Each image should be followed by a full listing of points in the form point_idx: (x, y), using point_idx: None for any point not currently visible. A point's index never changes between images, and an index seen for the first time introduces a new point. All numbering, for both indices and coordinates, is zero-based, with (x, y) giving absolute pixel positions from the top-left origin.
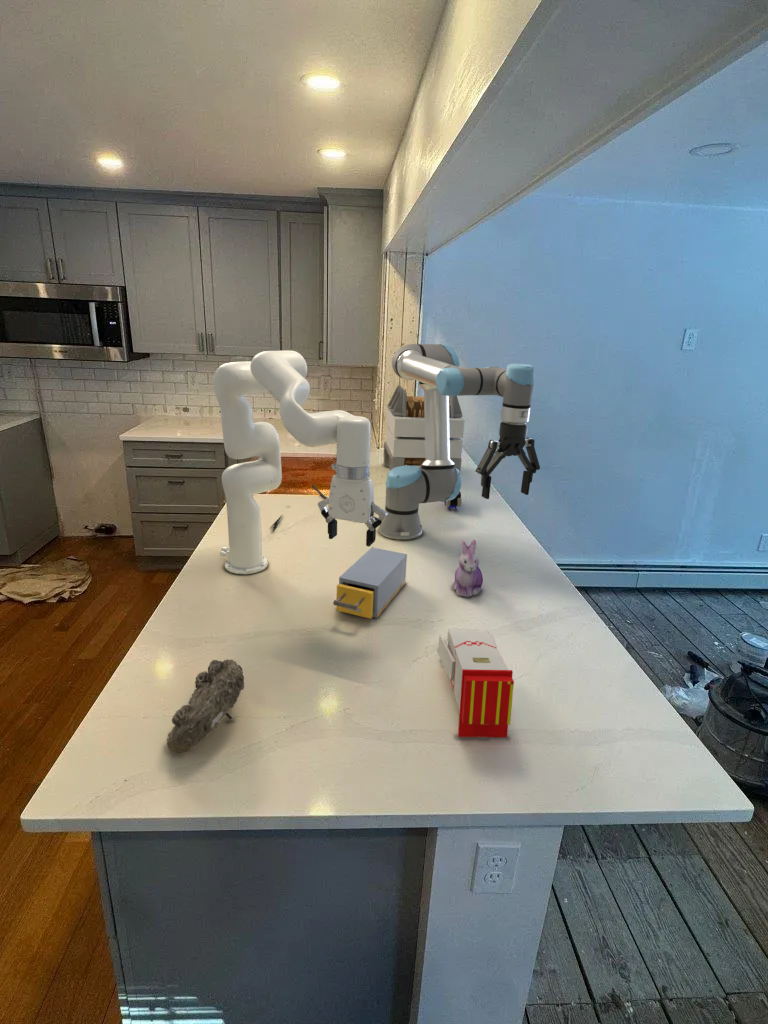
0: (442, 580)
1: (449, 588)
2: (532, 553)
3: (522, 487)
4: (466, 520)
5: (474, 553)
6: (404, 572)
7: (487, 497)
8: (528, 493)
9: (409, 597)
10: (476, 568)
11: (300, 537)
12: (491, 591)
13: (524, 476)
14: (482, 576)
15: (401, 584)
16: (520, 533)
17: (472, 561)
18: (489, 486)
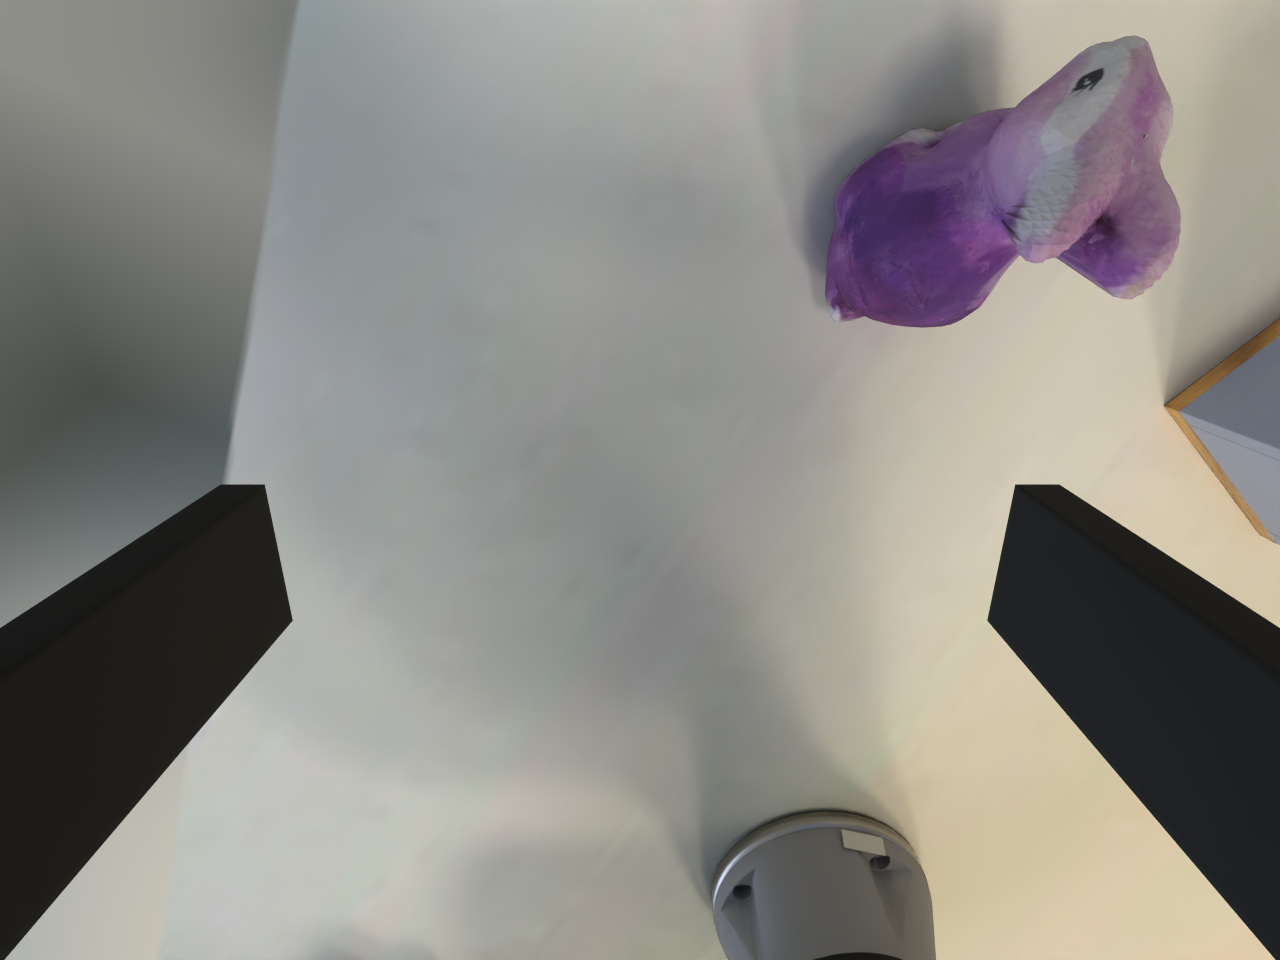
0: (961, 370)
1: None
2: None
3: (240, 646)
4: (417, 921)
5: (1086, 133)
6: (1248, 408)
7: (1063, 495)
8: (210, 491)
9: (1260, 247)
10: (945, 180)
11: None
12: (787, 147)
13: (77, 802)
14: (866, 179)
15: (1239, 366)
16: (202, 732)
17: (1140, 60)
18: (1191, 595)
